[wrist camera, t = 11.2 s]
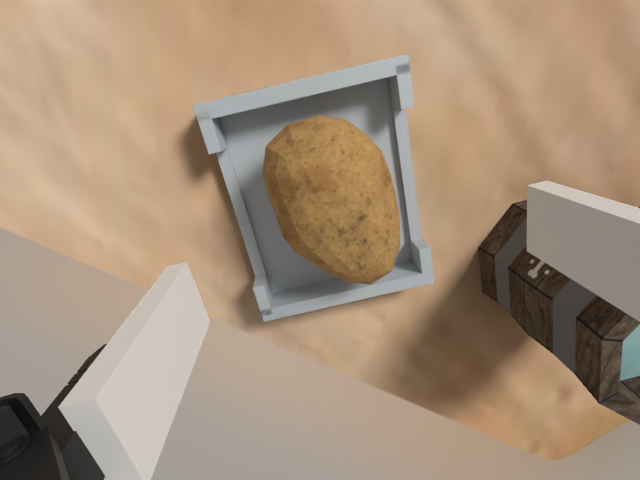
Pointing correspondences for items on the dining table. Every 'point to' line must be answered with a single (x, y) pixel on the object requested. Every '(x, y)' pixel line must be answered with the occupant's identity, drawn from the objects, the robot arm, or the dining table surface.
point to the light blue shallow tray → (251, 194)
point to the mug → (564, 315)
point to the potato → (334, 198)
